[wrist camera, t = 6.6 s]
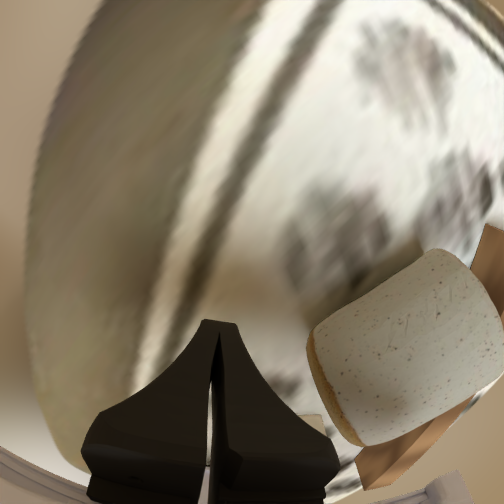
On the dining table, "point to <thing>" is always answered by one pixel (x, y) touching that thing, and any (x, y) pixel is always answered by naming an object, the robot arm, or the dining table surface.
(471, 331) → the ceramic mug
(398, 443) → the walnut rail
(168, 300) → the dining table surface
